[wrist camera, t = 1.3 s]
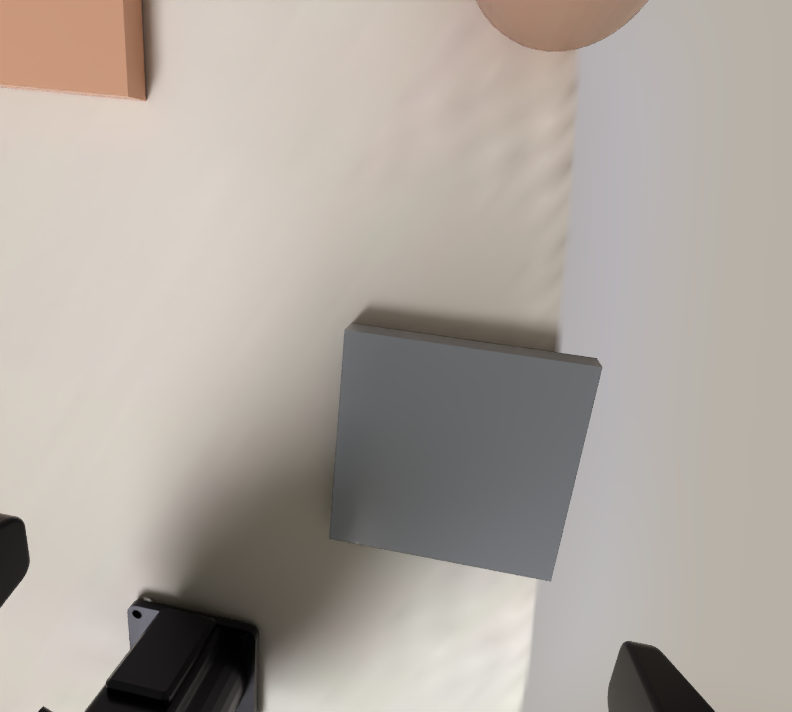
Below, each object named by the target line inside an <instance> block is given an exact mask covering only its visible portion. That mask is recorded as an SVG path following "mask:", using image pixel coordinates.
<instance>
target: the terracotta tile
mask: <svg viewBox="0 0 792 712" xmlns="http://www.w3.org/2000/svg"><path fill="white" fill-rule="evenodd" d="M0 87H6V88H16V89H27V90H37V91H48V92H58V93H68V94H79V95H89V96H99V97H110V98H120V99H131V100H141V101H146V92H145V69H144V46H143V23H142V0H0Z"/></svg>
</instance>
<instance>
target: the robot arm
mask: <svg viewBox="0 0 792 712" xmlns="http://www.w3.org/2000/svg"><path fill="white" fill-rule="evenodd" d="M29 563H30V558H29V550H28V543H27V536H26V529H25V524H24V522H23V521H22V519H20V518H19V517H16V516H11V515H6V514H1V513H0V607H1V606H2V605H3V603H4V602H5V601H6V600H7V598H8V597H9V596H10V595H11V593H12V592H13V591H14V589H15V588H16V587H17V586H18V584H19V583H20V582H21V581H22V579H23V578H24V576H25V574H26V573H27V570H28V567H29ZM127 613H128V626H129V640H130V650H129V652H128V653H127V654H126V656H125V657H124V658H123V660H122V661H121V662H120V664H119V665H118V666H117V667H116V669H115V670H114V671H113V673H112V674H111V675H110V677H109V678H108V679H107V681H106V684H105V685H104V687H103V688H102V689H101V691H100V692H99V693H98V695H97V696H96V697H95V699H94V700H93V701H92V702H91V704H90V705H89V706H88V708H87V709H86V710H85V712H257V693H258V654H259V631H258V629H257V628H256V627H255V626H254V625H252V624H249V623H245V622H240V621H236V620H231V619H227V618H222V617H217V616H213V615H208V614H204V613H199V612H194V611H190V610H185V609H180V608H176V607H171V606H167V605H162V604H157V603H153V602H148V601H144V600H136V601H135V602H134V603H133V604H132V605H131V606H130V607H129V609H128V612H127ZM246 634H247V635H246ZM608 708H609V709H608V710H609V712H715V711H714V710H713V709H712V708H711V706H710V705H709V704H708V703H707V702H706V701H705V700H704V699H703V698H702V696H701V695H700V694H699V693H698V692H697V691H696V690H695V689H694V687H693V686H692V685H691V684H690V683H689V682H688V681H687V680H686V679H685V678H684V676H683V675H682V674H681V673H680V672H679V671H678V670H677V669H676V668H675V666H674V665H673V664H672V663H671V662H670V661H669V660H668V659H667V657H666V656H665V655H664V654H663V653H662V652H661V651H660V650H659V649H658V648H656V647H654V646H652V645H647V644H642V643H637V642H632V641H626V642H624V643H623V644H622V646H621V648H620V650H619V654H618V657H617V660H616V663H615V667H614V670H613V673H612V677H611V680H610V683H609V688H608ZM38 712H52V711H50V710H49V709H47V708H46V707H44V706H43V707H42V708H41V709H40V710H39V711H38Z"/></svg>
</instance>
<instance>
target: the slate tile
mask: <svg viewBox="0 0 792 712" xmlns="http://www.w3.org/2000/svg"><path fill="white" fill-rule="evenodd" d="M601 370H602V366H601V365H600V363H599V361H598V360H597V358H591V357H584V356H577V355H570V354H563V353H556V352H549V351H542V350H535V349H528V348H521V347H514V346H507V345H500V344H493V343H486V342H479V341H472V340H465V339H458V338H451V337H444V336H437V335H430V334H423V333H416V332H409V331H402V330H395V329H388V328H381V327H374V326H367V325H360V324H353V323H351V324H350V325H349V326H348V327H347V328H346V329H345V334H344V347H343V361H342V374H341V388H340V401H339V415H338V428H337V442H336V455H335V469H334V482H333V496H332V509H331V523H330V536H329V539H334V540H339V541H344V542H349V543H354V544H360V545H365V546H370V547H375V548H380V549H385V550H391V551H396V552H401V553H406V554H411V555H417V556H422V557H427V558H432V559H437V560H442V561H448V562H453V563H458V564H463V565H468V566H473V567H479V568H484V569H489V570H494V571H499V572H505V573H510V574H515V575H520V576H525V577H530V578H536V579H541V580H546V581H551V578H552V574H553V570H554V566H555V562H556V558H557V554H558V549H559V545H560V541H561V537H562V532H563V528H564V524H565V520H566V516H567V512H568V507H569V503H570V499H571V495H572V491H573V487H574V482H575V479H576V474H577V470H578V466H579V462H580V458H581V454H582V449H583V445H584V441H585V437H586V433H587V429H588V424H589V420H590V416H591V412H592V408H593V404H594V400H595V395H596V391H597V387H598V383H599V379H600V375H601Z"/></svg>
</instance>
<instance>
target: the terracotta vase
mask: <svg viewBox="0 0 792 712" xmlns="http://www.w3.org/2000/svg"><path fill="white" fill-rule="evenodd" d="M647 1H648V0H476V2H477V4H478V5H479V7H480V9H481V10H482V12H483V14H484V15H485V16H486V18H487V19H488V20H489V21H490V23H491V24H492V25H493V26H494V27H495V28H497V29H498V30H499V31H500V32H501V33H502V34H504V35H505V36H507V37H508V38H509V39H511V40H513V41H515V42H517V43H519V44H521V45H523V46H526V47H529V48H532V49H536V50H543V51H567V50H575V49H578V48H582V47H585V46H588V45H591V44H593V43H596V42H598V41H600V40H602V39H604V38H606V37H607V36H609V35H611V34H613V33H614V32H616V31H617V30H618V29H620V28H621V27H622V26H624V25H625V24H626V23H627V22H628V21H629V20H631V19H632V18H633V17H634V16H635V15H636V14H637V13H638V12H639V11H640V9H641V8H642V7H643V6H644V5H645V4H646V3H647Z"/></svg>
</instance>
